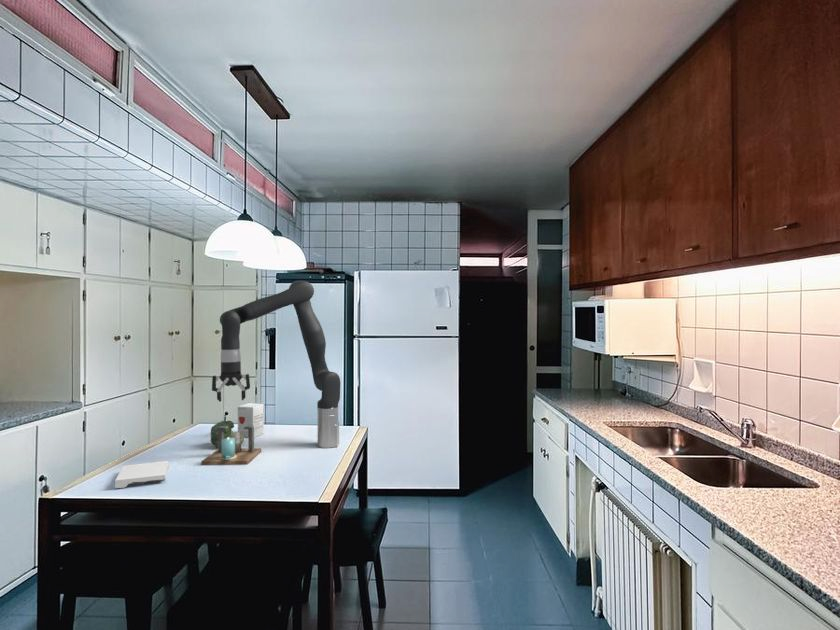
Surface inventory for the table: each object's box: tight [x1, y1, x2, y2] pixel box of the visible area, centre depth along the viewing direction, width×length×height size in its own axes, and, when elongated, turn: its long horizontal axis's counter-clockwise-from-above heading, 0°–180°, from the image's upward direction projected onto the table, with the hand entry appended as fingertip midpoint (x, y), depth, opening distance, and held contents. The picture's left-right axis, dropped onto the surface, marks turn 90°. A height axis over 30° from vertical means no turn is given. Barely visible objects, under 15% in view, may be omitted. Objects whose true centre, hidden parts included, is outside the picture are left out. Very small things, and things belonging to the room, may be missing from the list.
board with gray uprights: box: [200, 426, 262, 466], centre depth 201 cm, size 18×18×12 cm
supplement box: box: [237, 402, 265, 439], centre depth 239 cm, size 9×9×15 cm
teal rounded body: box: [221, 437, 235, 460], centre depth 196 cm, size 9×5×7 cm, turn 19°
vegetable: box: [210, 420, 245, 447], centre depth 221 cm, size 12×13×15 cm
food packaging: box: [114, 460, 169, 489], centre depth 178 cm, size 15×3×20 cm
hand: (231, 400), depth 198 cm, fingers open, 8 cm apart
